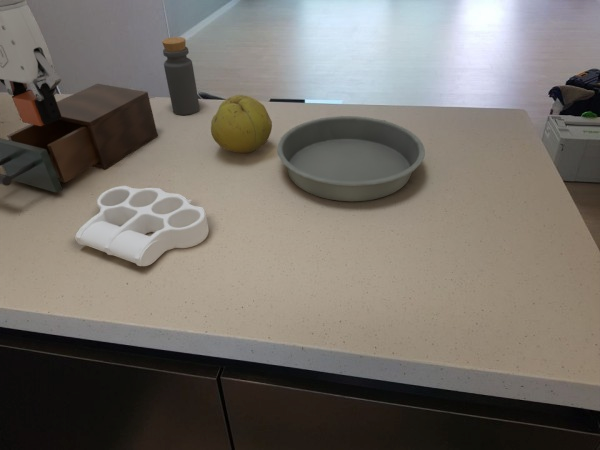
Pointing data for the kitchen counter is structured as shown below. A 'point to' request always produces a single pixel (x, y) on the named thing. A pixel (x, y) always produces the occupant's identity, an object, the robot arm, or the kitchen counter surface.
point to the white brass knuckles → (143, 224)
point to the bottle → (180, 77)
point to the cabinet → (111, 120)
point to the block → (28, 108)
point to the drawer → (47, 154)
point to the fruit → (241, 124)
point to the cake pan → (350, 157)
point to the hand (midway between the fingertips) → (41, 117)
